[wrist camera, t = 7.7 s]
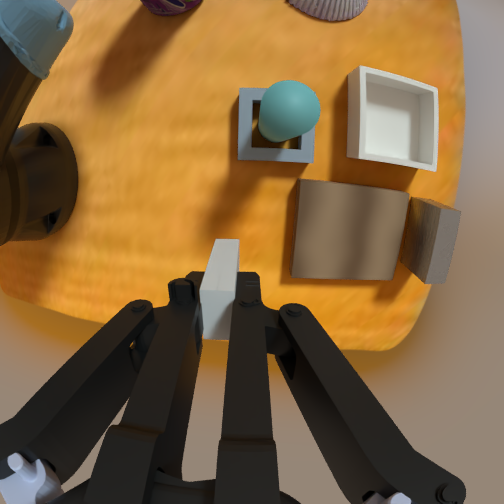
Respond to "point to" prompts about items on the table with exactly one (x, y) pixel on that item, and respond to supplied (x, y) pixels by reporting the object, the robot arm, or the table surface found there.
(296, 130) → the dowel
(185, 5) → the beverage can
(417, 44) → the table surface
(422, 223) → the block
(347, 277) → the tan brushed block
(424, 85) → the tray
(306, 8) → the seashell
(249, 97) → the socket block
